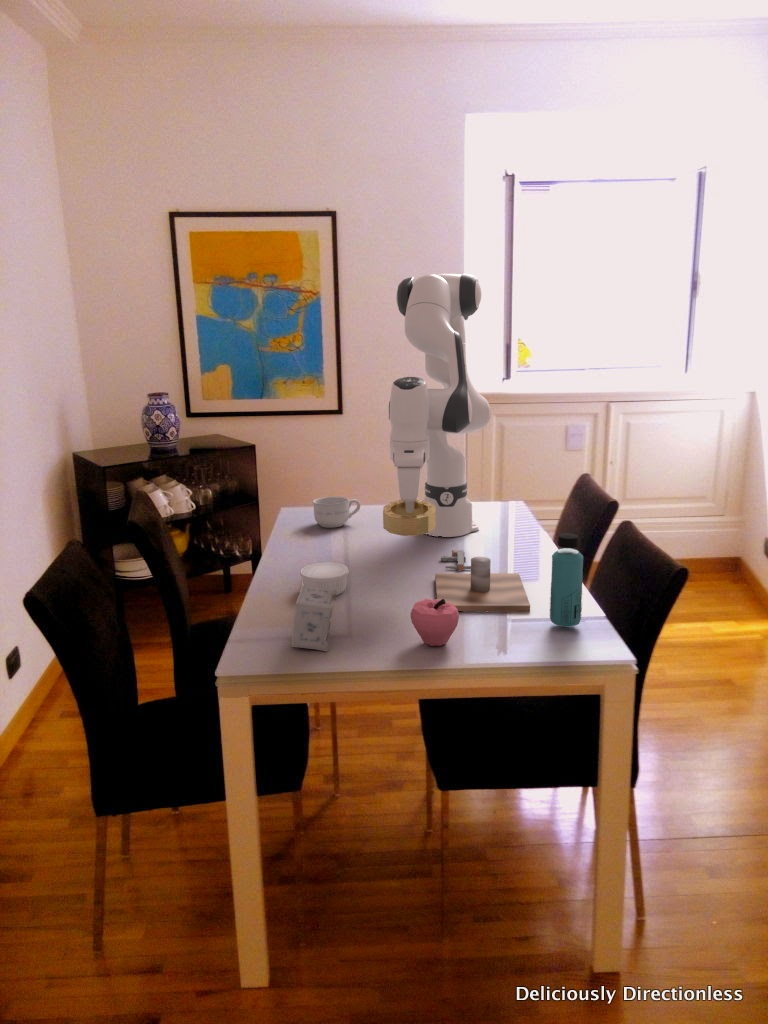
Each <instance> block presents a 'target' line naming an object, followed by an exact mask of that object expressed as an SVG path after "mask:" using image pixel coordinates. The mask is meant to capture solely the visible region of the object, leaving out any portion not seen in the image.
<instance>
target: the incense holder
mask: <svg viewBox="0 0 768 1024" xmlns="http://www.w3.org/2000/svg"><path fill="white" fill-rule="evenodd" d="M336 599H337V596H336V590H333V589H326V588H317V587H311V586H304V585H302V586H301V589H300V591H299V594H298V596H297V600H296V602H295V605H294V616H293V625H292V635H291V641H290V642H291V647H293V648H300V649H301V648H302V649H310V650H316V651H317V650H318V651H322V652H328V651H329V643H328V642H327V637H328V635H329V634H330V633H329V632H330V630H331V618H332V617H333V604H332V603H333V602H334V601H336Z"/></svg>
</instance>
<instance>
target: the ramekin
mask: <svg viewBox="0 0 768 1024" xmlns="http://www.w3.org/2000/svg"><path fill="white" fill-rule="evenodd" d="M349 573H350V572H349V568H348V566H346V565H345V564H343V563H337V562H328V561H327V562H317V563H311V564H309V565H308V564H307V565H305V566H304V567H302V568H301V569H300V572H299V574H300V577H301V581H302V586H311V587H317V588H326V589H333V590H336V597H337V596H339V595H341V594H342V593H344V591H346V589H347V582H348V575H349Z"/></svg>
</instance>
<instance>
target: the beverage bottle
mask: <svg viewBox="0 0 768 1024" xmlns="http://www.w3.org/2000/svg"><path fill="white" fill-rule="evenodd" d="M557 538H558V539H557V540H558V541H557V546H559V549H557V550H556V551H555V552H553V554H552V555H551V581H550V597H549V619H550V621H551V623H553V624H554V625H556V626H560V627H575V626H577V625H579V624H580V623H581V620H582V614H583V613H582V608H583V605H582V601H583V582H584V581H583V578H584V577H583V575H584V574H583V568H584V555H583V554H582V553H581V552H580V551H579V550H578V549H575V548H578V547H579V536H578V535H577V534H574V533H572V532H571V533H568V532H567V533H565V532H564V533H560V534H559V535H558V537H557Z"/></svg>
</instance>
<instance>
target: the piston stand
mask: <svg viewBox="0 0 768 1024" xmlns="http://www.w3.org/2000/svg"><path fill="white" fill-rule="evenodd" d="M491 561H492V559H491V558H489V557H486V556H474V557H471V559H470V566H471V569H470V573H435V574H434V575H435V577H434V578H435V580H436V581H435V580H434V581H435V595H436V594H437V595H436V599H441V600H442V599H444V600H445V602H448V603H452V604H454V605H455V607H456V608H457V610H458V611H480V612H479V613H482V612H481V611H484V612H483V613H493V612H492V611H495V612H494V613H497V612H496V611H501V612H500V613H530V612H531V603H530V601H529V598H528V596H527V592H526V589H525V587H524V583H523V582H522V579H521V576H520V573H514V572H513V573H510V572H509V573H508V572H507V573H503V572H502V573H491ZM486 611H488V612H486Z"/></svg>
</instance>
